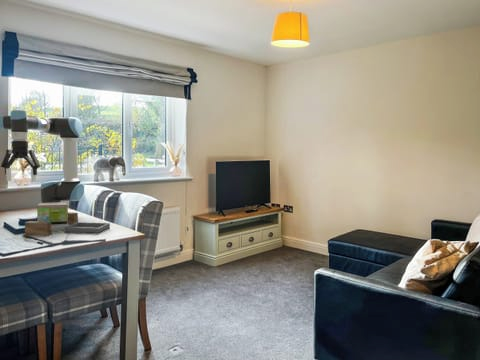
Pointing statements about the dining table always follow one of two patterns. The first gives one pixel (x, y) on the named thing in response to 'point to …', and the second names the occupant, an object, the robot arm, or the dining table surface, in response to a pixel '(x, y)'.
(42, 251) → the dining table surface
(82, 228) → the tray
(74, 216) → the block
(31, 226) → the block
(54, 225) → the tea box
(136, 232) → the dining table surface
